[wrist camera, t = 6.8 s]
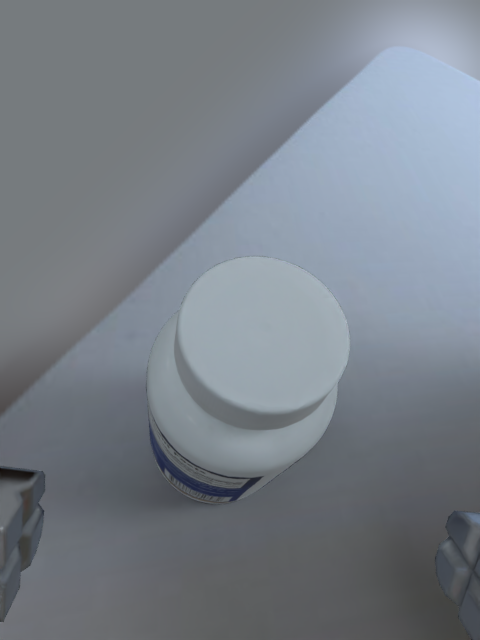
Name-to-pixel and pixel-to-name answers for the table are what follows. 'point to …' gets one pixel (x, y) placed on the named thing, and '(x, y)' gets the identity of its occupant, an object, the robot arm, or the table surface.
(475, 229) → the table surface
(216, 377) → the pill bottle
